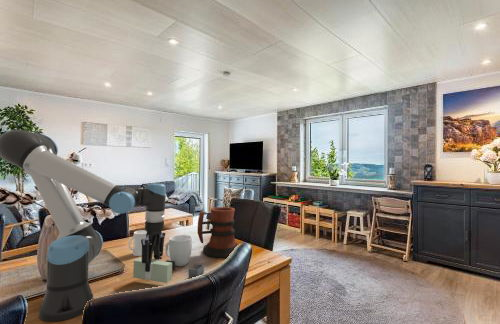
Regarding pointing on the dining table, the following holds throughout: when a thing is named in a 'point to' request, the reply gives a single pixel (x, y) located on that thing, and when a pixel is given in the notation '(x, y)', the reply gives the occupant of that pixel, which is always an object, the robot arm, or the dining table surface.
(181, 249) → the mug
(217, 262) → the dining table surface
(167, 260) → the cap far
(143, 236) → the mug
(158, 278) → the pale green long block
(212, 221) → the tankard
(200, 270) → the cap near
